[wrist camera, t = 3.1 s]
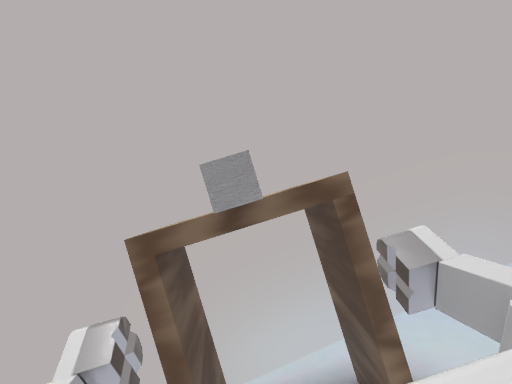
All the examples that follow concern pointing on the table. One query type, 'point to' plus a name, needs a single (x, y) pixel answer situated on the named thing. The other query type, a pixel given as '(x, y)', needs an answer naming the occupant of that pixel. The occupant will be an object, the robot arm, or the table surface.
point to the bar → (231, 181)
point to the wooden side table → (334, 266)
